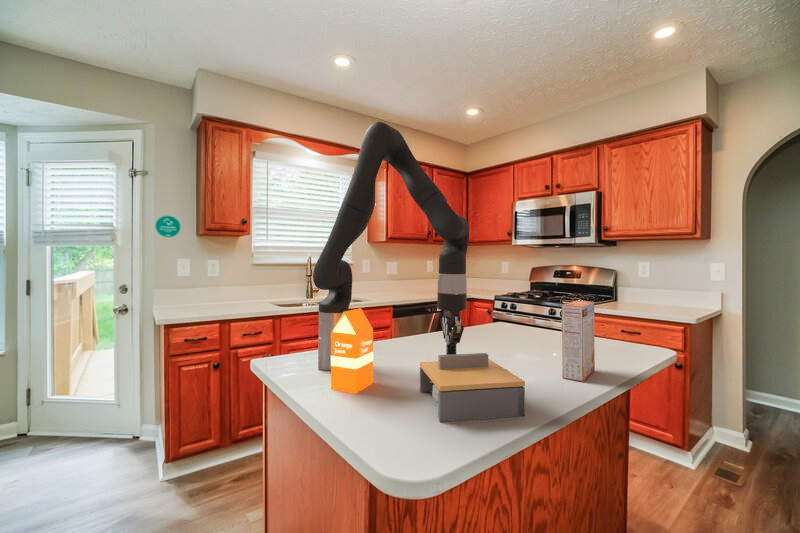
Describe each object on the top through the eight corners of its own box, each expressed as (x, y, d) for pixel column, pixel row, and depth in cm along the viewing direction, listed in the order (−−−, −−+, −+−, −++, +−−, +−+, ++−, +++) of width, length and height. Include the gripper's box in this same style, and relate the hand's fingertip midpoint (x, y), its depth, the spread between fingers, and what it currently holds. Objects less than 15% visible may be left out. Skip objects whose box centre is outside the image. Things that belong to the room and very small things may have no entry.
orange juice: (330, 388, 94) (330, 311, 94) (349, 379, 102) (349, 307, 102) (356, 393, 91) (356, 312, 91) (373, 383, 99) (374, 308, 99)
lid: (440, 391, 75) (440, 371, 75) (419, 366, 93) (419, 350, 93) (524, 386, 78) (524, 367, 78) (489, 362, 96) (489, 347, 96)
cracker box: (573, 367, 114) (574, 300, 114) (595, 371, 110) (595, 301, 110) (560, 378, 103) (560, 303, 103) (583, 382, 99) (584, 305, 99)
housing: (440, 422, 75) (440, 392, 75) (419, 391, 93) (419, 367, 93) (524, 415, 78) (524, 387, 78) (489, 386, 96) (489, 364, 96)
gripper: (431, 289, 101) (431, 351, 102) (445, 293, 88) (444, 365, 89) (458, 289, 103) (457, 351, 103) (474, 293, 90) (474, 364, 90)
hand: (451, 357), depth 96 cm, fingers closed
